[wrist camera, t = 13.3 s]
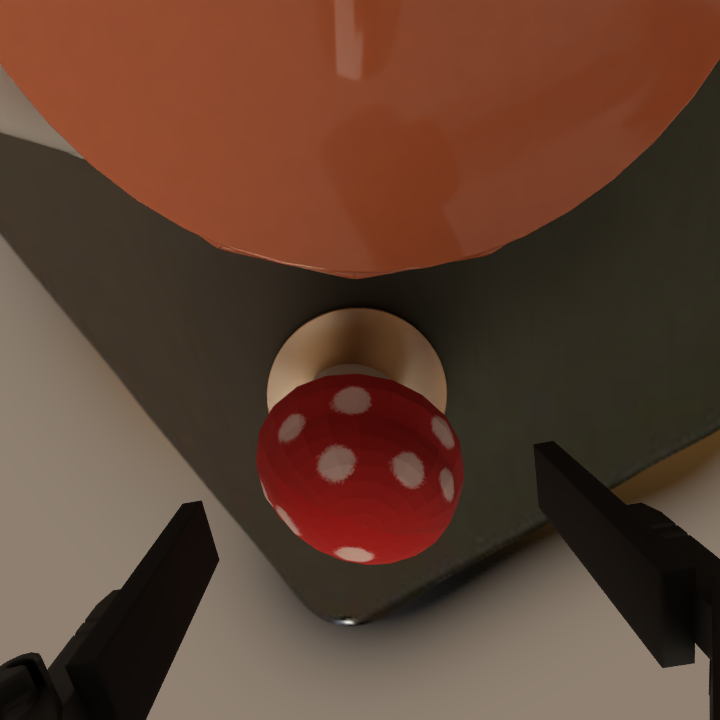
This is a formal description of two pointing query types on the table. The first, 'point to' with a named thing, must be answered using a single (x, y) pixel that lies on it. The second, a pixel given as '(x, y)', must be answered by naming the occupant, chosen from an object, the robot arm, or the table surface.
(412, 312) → the table surface
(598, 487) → the robot arm
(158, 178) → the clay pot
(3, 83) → the drinking glass
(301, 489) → the decorative mushroom
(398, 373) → the round golden metal disc
